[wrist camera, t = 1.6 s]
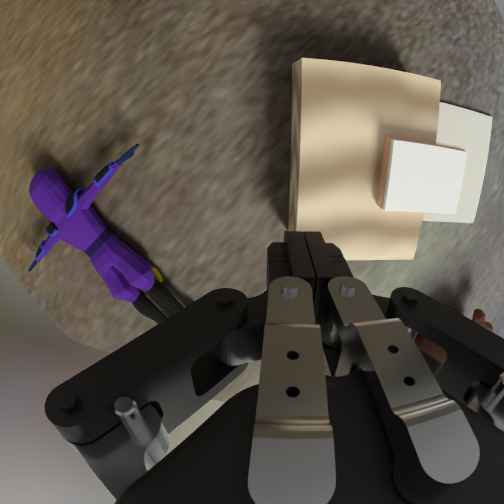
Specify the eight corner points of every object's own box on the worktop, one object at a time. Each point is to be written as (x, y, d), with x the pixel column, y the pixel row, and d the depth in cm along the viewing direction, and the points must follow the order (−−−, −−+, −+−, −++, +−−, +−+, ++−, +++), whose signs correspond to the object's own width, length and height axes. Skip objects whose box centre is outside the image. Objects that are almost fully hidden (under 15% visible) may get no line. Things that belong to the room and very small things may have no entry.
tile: (384, 134, 26) (392, 138, 24) (457, 146, 25) (468, 151, 24) (376, 203, 29) (383, 211, 27) (446, 208, 29) (456, 215, 27)
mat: (422, 98, 29) (424, 98, 29) (490, 116, 29) (492, 117, 29) (407, 218, 37) (408, 220, 37) (471, 222, 37) (473, 223, 37)
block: (292, 64, 28) (301, 57, 22) (409, 79, 28) (440, 80, 22) (287, 231, 38) (294, 260, 32) (391, 232, 38) (413, 259, 32)
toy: (261, 268, 42) (108, 93, 30) (263, 293, 37) (86, 96, 25) (135, 345, 50) (11, 225, 38) (127, 368, 46) (-9, 241, 33)
